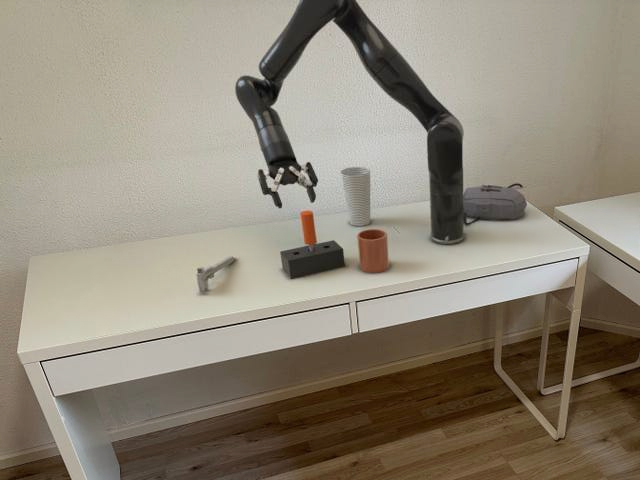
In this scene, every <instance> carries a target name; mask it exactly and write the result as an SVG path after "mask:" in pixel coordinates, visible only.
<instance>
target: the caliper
mask: <svg viewBox="0 0 640 480" xmlns="http://www.w3.org/2000/svg"><path fill="white" fill-rule="evenodd" d="M235 260H236V257H235V256H232V255H230V256H228V257H226V258H224V259H222V260H220V261H219V262H217V263H215V264H214V265H212V266H211V265H209V266H206V267H204V266H199V267H198V268H196V271H197V272H196V282H197V286H198V291H199V293H201V294H205V293H206V292H209V279H210V280H212V279H213V278H214V277H215V274H216V273H217V272H219V271H221V270H223V269H224V268H226V267H228V266H229V265H231V264H232V263H234V262H235Z"/></svg>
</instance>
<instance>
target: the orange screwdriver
mask: <svg viewBox="0 0 640 480" xmlns="http://www.w3.org/2000/svg"><path fill="white" fill-rule="evenodd" d="M300 220H301V227H302V235H303V241H304V244H305V246H309V247H310V252H311V251H314V250H313V244H318V242H317V233H316V226H315V218H314V211H312V210H303V211H301V212H300Z"/></svg>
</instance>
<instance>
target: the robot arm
mask: <svg viewBox="0 0 640 480" xmlns="http://www.w3.org/2000/svg"><path fill="white" fill-rule="evenodd" d="M298 2H299V3H298V4H297V6H296V8H295V11H294V12H293V14H292V16H291V18H290V19H289V21H288V23H286V26H285V27H284V28H283V30H282V31H281V33H280V34H279V35H278V37H276V39H275V40H274V42H273V43H272V44H271V45H270V47H269V48H268V50H267V51H266V52H265V54H264V55H263V57H262V58H261V59H260V61H259V63H258V71H259V73H260V75H261V76H262V77H263V79H261V78H260V77H259V78H258V77H255V76H252V75H247V74H245V75H244V74H243V75H241V76H240V77H238V78H237V80H236V82H235V86H234V92H235V96H236V97H235V98H236V99H237V101H238V104H239V105H240V106H241V108H242V109H243V112H245V114H246V116H247V118H249V119H250V121H251V122H252V124H253V127H254V130H255V132H256V135H257V139H258V145H259V147H260V151H261V152H262V155H263V158H264V161H265V164H266V166H267V169H268V170H263V169H262V168H259V169H258V170H257V178H258V182H259V186H260V189H261V193H262V195H263V196H267V195H268V196H270V197H271V199H272V201H273V204H274V206H275V208H276V207H277V208H278V209H283V202H282V200H281V197H280V194H279V191H278V190H279V187H280V185H281V186H287V185H295V184H297V185H299V186H301V187H302V188H305V189H306V194H307V196H308V199H309V201H310V204H313V203H315V201H316V199H317V195H316V191H315V189H314V188H315V187H317V186H318V183H319V178H318V176H317V173H316V171H315V169H314V167H313V165H312V163H311V162H310V161H307V162H306V164H300V163H298V160H297V156H296V154H295V152H294V149H293V146H292V143H291V141H290V138H289V135H288V134H287V132H286V129H285V128H284V125H283V122H282V119H281V117H280V114H279V113H278V111H277V110H276V109H274V108H273V106H274V105H275V104H276V103H277V101H278V100H279V99H278V98H279V96H280V94H281V91H282V88H283V86H284V81H285V80H286V78H287V77H288V76H290V73H291V72H292V71H293V69H294V68H295V67H296V65H297V64H298V63H299V61H300V59H301V57H302V56H303V53H304V52H305V50H306V48H307V46H308V45H309V44H310V42H311V41H312V39H314V37H315V36H316V35H317V34H318V33H319V32H320V31H321V30H322V29H324V28H325V26H327V25H328V24H329V23H330V22H332V23H334V24H335V25H336V26H337V27H338V28H339V29H340V30H341V31H342V32H343V33H344V35H345V36H346V37H347V38H348V40H349V41H350V43H351V45H352V46H353V48H354V50H355V52H356V54H357V56H358V58H359V61H360V62H361V64H362V66H363V68H364V70H365V71H366V72H367V74H368V75H369V76H370V78H372V80H373V81H374V82H375V83H376V84H377V85H378V86H379V88H380V89H381V90H382V91H383V92H384V93H385V94H386V95H387V96H388V97H390V98H391V99H392V100H393V101H395V102H396V103H398V104H399V105H400V106H402V107H404V108H405V109H406V110H407V111H408V112H410V113H411V115H413V116H414V118H416V119H417V121H418V122H419V124H420V125H421V126H422V128H423V129H424V130H425V132H426V151H427V152H426V155H427V170H428V176H429V177H428V178H429V179H428V180H429V206H430V208H429V210H430V239H431V241H432V242H434V243H436V244H440V245H455V244H458V243H461V242H462V241H463V240H464V239H465V228H464V227H465V226H470V225H471V224H474V223H476V222H477V221H479V220H481V219H480V217H478V218H475V219H473V220H472V221H470V222H468V216H467V212H464V204H463V195H464V164H463V163H464V162H463V161H464V159H463V158H464V157H463V155H464V153H463V147H464V146H463V141H464V137H465V136H464V128H463V125H462V123H461V122H460V120H459V119H458V118H457V116H455V115H454V114H453V113H452V112H451V111H450V110H449V109H447V107H446V106H444V105H443V104H442V103H441V101H439V100H438V99H437V97H435V95H434V94H433V93H432V92H431V91H430V89H429V88H428V86H427V85H426V84H425V82H424V81H423V79H421V78H420V76H419V75H418V73H417V72H416V71H415V70H414V69H413V67H412V66H411V65H410V63H409V62H408V61H407V60H406V59H405V57H404V56H403V55H402V54H401V52H400V51H399V50H398V49H397V48H396V47H395V46H394V44H392V43H391V41H390V40H389V39H388V38H387V37H386V36H385V35H384V34H383V32H382V31H381V30H380V29H379V28H378V26H377V25H375V24H374V22H373V21H372V20H371V19H370V18H369V17H368V15H367V14H366V12H365V11H364V9H362V7H361V6H360V4H359V2H357V0H299V1H298ZM302 171H303V172H304V173H305V174H307V177H308V178H307V177H306V175H304V174H303V173H302ZM268 176H269V178H271V179H273V180H274V181H273V184H272V185H271V187H269V186H268V182H267V179H268ZM517 186H519V187H520V188H523V187H524V186H523V185H522V184H521V183H518V182H517V183H513V184H510V185H508V186H507V187H508V188H511V189H512V188H513V187H517Z"/></svg>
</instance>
